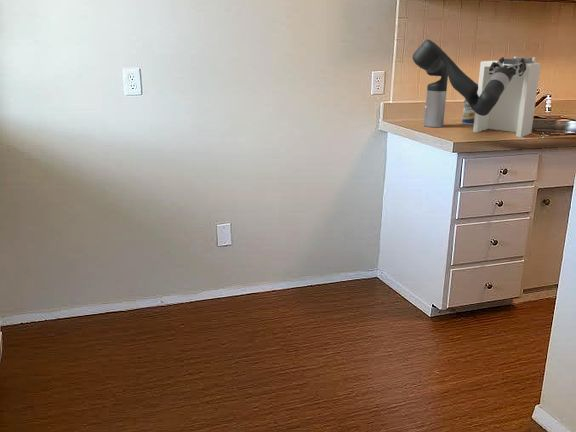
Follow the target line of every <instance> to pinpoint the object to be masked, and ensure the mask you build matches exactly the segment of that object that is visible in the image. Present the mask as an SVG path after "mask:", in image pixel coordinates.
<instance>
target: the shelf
mask: <svg viewBox="0 0 576 432" xmlns="http://www.w3.org/2000/svg"><path fill="white" fill-rule="evenodd" d="M513 58H518V56H514V57H513ZM532 58H533V59H532V63H526V70H525V72H524V73H523V74H522V76H519V74H515V75H513V77H512V79H511V81H510V82H509V84H508V85H507V87H506V89H505V90H504V91H503V92H502V94H501V95H500V97H499V100H498V101H497V103H496V104H495V106H494V107H493V108H492V110H491V111H490V112H489V113H488V114H487V115H485V116H481V115H478V114H477V113H475V118H474V125H473V127H472V128H473V130H472V132H473V133H479V132H483V131H485V130H494V131H495V130H496V131H503V132H514V133H516V134H515V137H516V138H523V137H525V136H528V135H530V134H532V131H533V125H534V124H533V123H534V117H535V110H536V109H535V108H536V103H537V102H536V100H537V93H538V88H539V87H538V86H539V80H540V71H541V64H542V63H541V62H536V57H535V56H533V57H532ZM498 61H499V60H483V61H480V64H479V65H480V66H479V74H478V83H477V84H478V91H477V94H478V96H480V95H481V94H482V92H483V91H484V89H485V87H486V85H487V84H488V82H489V80H490V78H491V77H492V75H493V74H494V73H492V74H489V68H490V66H491V64H492V63H493V62H495V63H497V62H498ZM502 65H503V66H504V65H513V64H504V62H503V64H502ZM518 67H519V66H518ZM497 68H498V67H496V68H495V70H496V69H497ZM514 69H515V67H514ZM482 130H483V131H482Z"/></svg>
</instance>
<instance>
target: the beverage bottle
mask: <svg viewBox="0 0 576 432" xmlns="http://www.w3.org/2000/svg"><path fill="white" fill-rule="evenodd" d="M475 83H476V84H477V85H478V83H477V82H475ZM462 111H463V112H462V119H461V123H462V124H463V125H469V126H474V118H475V112H474V111H473V109H472V108H471V106H470V105H469V103H468V102H467V101H466V99H465V98H464V100H463V110H462Z"/></svg>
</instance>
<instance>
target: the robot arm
mask: <svg viewBox="0 0 576 432" xmlns="http://www.w3.org/2000/svg"><path fill="white" fill-rule="evenodd" d="M504 59H505V57H500V58H499V60H497V61H498V62H497V63H495V62H493V63H492V64H491V66H490V68H489V74H492V73H494V74H493V75H492V77H491V78H490V80H489V82H488V84H487V85H486V87H485V89H484V91H483V92H482V94H481V95H480V96H478V94H477V91H478V85H477V84H478V83H477V82H475V81H474V80H473V79H472V78H471V77H469V76H468V75H467V73H465V72H463V70H462V69H461V68H460V67H459V66H458V65H457V64H456V62H455V61H453V59H452V58H451V57H450V56H448V54H447V53H446V52H445V51H444V50H443V49H442V48H441V47H440V46H439V45H437V43H435V42H434V41H432V40H430V39H425V40H424V41H423V42H422V43H421V44H420V46H419V47H418V48H417V49H416V51H414V52H413V54H412V61H413V63H414V64H415V66H417V67H419V68H420V69H422V70H423V71H425V72H426V74H427V75H428V76H431V77H440V79H438V80H437V81H435V82H431V83H428V84H427V87H426V96H425V97H426V99H425V106H424V107H425V108H424V116H423V127H430V128H443V127H444V124H445V123H444V120H445V112H446V111H445V110H446V109H445V108H446V103H447V102H446V101H447V100H446V99H447V91H448V90H447V88H448V80H449V83H450V85H451V86H452V87H453V89H454V90H455V91H456V92H457V93H459V94H460V95H461V96H462V97H463V98H464V100H465V99H466V101H467V102H468V103H469V105H470V106H471V108H472V109H473V111H474V112H475V113H477V114H478V115H481V116H485V115H487V114H488V113H489V112H490V111H491V110H492V108H493V107H494V106H495V104H496V103H497V101H498V100H499V97H500V95H501V94H502V92H503V91H504V90H505V89H506V87H507V85H508V84H509V82H510V81H511V79H512V77H513V75H515V74H519V76H522V74H523V73H524V72H525V70H526V64H525V59H524V58H522V59H521V60H520V62H519V63H518V64H514V65H504V66H503V65H502V64H503V62H504ZM518 66H519V67H518ZM496 67H498V68H497V69H496V70H495V68H496ZM514 67H515V69H514ZM476 83H477V84H476Z"/></svg>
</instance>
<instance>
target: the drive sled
mask: <svg viewBox="0 0 576 432" xmlns="http://www.w3.org/2000/svg"><path fill="white" fill-rule="evenodd" d="M522 58H524V59H525V64H526V63H532V59H533V57H528V56H527V57H525V56H523V57H522V56H521V57H517V58H514V57H510V58H509V57H508V58H504V64H513V65H514V64H518V63H519V62H520V60H521V59H522Z"/></svg>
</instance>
